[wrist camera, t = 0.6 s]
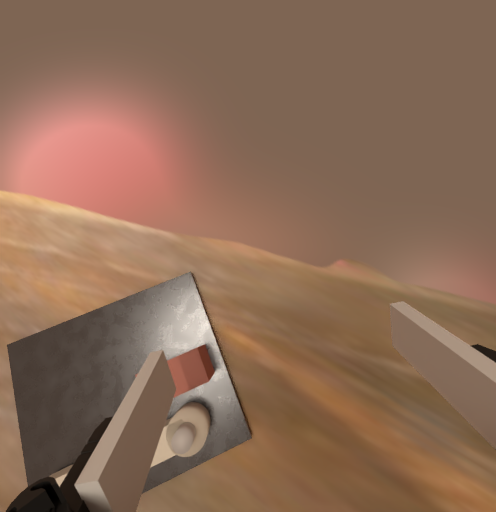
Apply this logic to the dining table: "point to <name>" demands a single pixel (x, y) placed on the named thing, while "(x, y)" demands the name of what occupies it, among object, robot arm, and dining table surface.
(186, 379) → the block
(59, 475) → the link
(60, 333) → the base plate
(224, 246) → the dining table surface
